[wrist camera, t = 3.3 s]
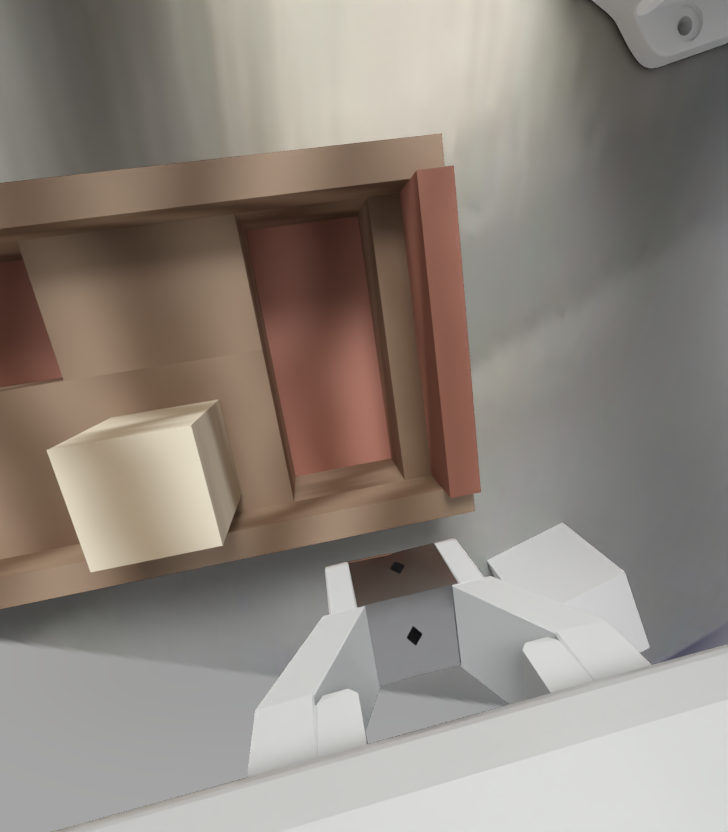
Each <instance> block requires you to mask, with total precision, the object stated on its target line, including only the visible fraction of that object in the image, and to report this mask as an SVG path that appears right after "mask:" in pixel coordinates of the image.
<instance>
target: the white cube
mask: <svg viewBox="0 0 728 832" xmlns="http://www.w3.org/2000/svg"><path fill="white" fill-rule="evenodd" d="M487 561H488V564H489V566H490V568H491V571H492V573H493V575H494V577H495V578H497V579H500V580H502V581H505V582H508V583H510V584H513V585H515V586H518V587H521V588H523V589H526V590H528V591H531V592H533V593H536V594H539V595H541V596H544V597H546V598H549V599H552V600H554V601H557V602H559V603H562V604H565V605H567V606H570V607H572V608H575V609H577V610H580V611H583V612H585V613H588V614H590V615H593V616H596V617H598V618H601V619H603V620H606V621H607V622H608V623H609V624H610V625H611V626H612V627H613V628H614V629H615V630H616V631H617V632H618V633H619V634H620V635H621V636H622V637H623V638H624V639H625V640H626V641H627V642H629V643H630V644H631V645H632V646H633V647H634V648H635V649H636V650H637V651H638V652H639V653H640V652H642V651H644V650H646V649H648V648H650V646H649V643H648V640H647V637H646V634H645V631H644V628H643V625H642V622H641V619H640V616H639V613H638V610H637V607H636V604H635V601H634V598H633V595H632V592H631V589H630V586H629V583H628V580H627V577H626V574H625V572H624V571H623V570H622V569H621V568H619V567H618V566H617V565H615V564H614V563H613V562H612V561H610V560H609V559H608V558H607V557H605V556H604V555H603V554H602V553H600V552H599V551H598V550H597V549H595V548H594V547H593V546H592V545H590V544H589V543H588V542H587V541H585V540H584V539H583V538H582V537H580V536H579V535H578V534H576V533H575V532H574V531H573V530H571V529H570V528H569V527H568V526H566V525H565V524H564V523H563V522H562V523H560V524H558V525H556V526H554V527H552V528H550V529H548V530H546V531H544V532H542V533H540V534H538V535H536V536H534V537H532V538H530V539H528V540H526V541H524V542H522V543H520V544H518V545H516V546H514V547H512V548H510V549H508V550H507V551H505V552H503V553H501V554H499V555H497V556H495V557H493V558H491V559H489V560H487Z"/></svg>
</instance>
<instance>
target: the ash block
mask: <svg viewBox="0 0 728 832" xmlns="http://www.w3.org/2000/svg"><path fill="white" fill-rule="evenodd" d="M47 453H48V456H49V459H50V461H51V464H52V467H53V470H54V472H55V475H56V478H57V481H58V484H59V486H60V489H61V492H62V495H63V497H64V500H65V503H66V506H67V509H68V511H69V514H70V517H71V520H72V522H73V525H74V528H75V531H76V533H77V536H78V539H79V542H80V545H81V547H82V550H83V553H84V556H85V558H86V561H87V564H88V567H89V570H90V572H95V571H100V570H105V569H110V568H115V567H120V566H125V565H130V564H135V563H140V562H145V561H150V560H155V559H159V558H164V557H169V556H174V555H179V554H184V553H189V552H194V551H199V550H204V549H209V548H214V547H219V546H223V543H224V541H225V538H226V535H227V533H228V530H229V527H230V524H231V522H232V519H233V516H234V513H235V511H236V508H237V505H238V503H239V500H240V497H241V494H242V493H241V489H240V484H239V480H238V476H237V472H236V468H235V464H234V460H233V455H232V451H231V447H230V443H229V439H228V435H227V431H226V426H225V422H224V418H223V414H222V410H221V406H220V402H219V399H218V400H212V401H206V402H200V403H194V404H188V405H182V406H176V407H170V408H165V409H159V410H153V411H147V412H141V413H135V414H129V415H123V416H117V417H111V418H109V419H107V420H105V421H103V422H101V423H99V424H97V425H95V426H93V427H91V428H89V429H88V430H86V431H84V432H82V433H80V434H78V435H76V436H74V437H72V438H70V439H68V440H66V441H64V442H62V443H60V444H58V445H56V446H54V447H52V448H50V449H48V450H47Z"/></svg>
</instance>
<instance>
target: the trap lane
mask: <svg viewBox="0 0 728 832" xmlns="http://www.w3.org/2000/svg"><path fill="white" fill-rule="evenodd" d="M218 399H219V402H220V406H221V410H222V414H223V418H224V422H225V426H226V431H227V435H228V439H229V443H230V447H231V451H232V455H233V460H234V464H235V468H236V472H237V476H238V480H239V484H240V489H241V493H242V494H241V497H240V500H239V503H238V505H237V508H236V511H235V513H234V516H233V519H232V522H231V524H230V527H229V530H228V533H227V535H226V538H225V541H224V543H223V546H219V547H214V548H209V549H204V550H199V551H194V552H189V553H184V554H179V555H174V556H169V557H164V558H159V559H155V560H150V561H145V562H140V563H135V564H130V565H125V566H120V567H115V568H110V569H105V570H100V571H95V572H90V570H89V567H88V564H87V561H86V558H85V556H84V553H83V550H82V547H81V545H80V542H79V539H78V536H77V533H76V531H75V528H74V525H73V522H72V520H71V517H70V514H69V511H68V509H67V506H66V503H65V500H64V497H63V495H62V492H61V489H60V486H59V484H58V481H57V478H56V475H55V472H54V470H53V467H52V464H51V461H50V459H49V456H48V453H47V450H48V449H50V448H52V447H54V446H56V445H58V444H60V443H62V442H64V441H66V440H68V439H70V438H72V437H74V436H76V435H78V434H80V433H82V432H84V431H86V430H88V429H89V428H91V427H93V426H95V425H97V424H99V423H101V422H103V421H105V420H107V419H109V418H111V417H117V416H123V415H129V414H135V413H141V412H147V411H153V410H159V409H165V408H170V407H176V406H182V405H188V404H194V403H200V402H206V401H212V400H218ZM479 492H481V489H480V477H479V465H478V453H477V441H476V429H475V417H474V404H473V392H472V380H471V368H470V356H469V344H468V332H467V320H466V308H465V296H464V284H463V272H462V260H461V248H460V236H459V224H458V212H457V200H456V187H455V175H454V166H447V167H445V165H444V154H443V142H442V134H433V135H424V136H415V137H406V138H397V139H388V140H380V141H371V142H362V143H353V144H344V145H335V146H326V147H317V148H308V149H299V150H290V151H281V152H272V153H263V154H255V155H246V156H237V157H228V158H219V159H210V160H201V161H192V162H183V163H174V164H165V165H156V166H147V167H139V168H130V169H121V170H112V171H103V172H94V173H85V174H76V175H67V176H58V177H49V178H40V179H31V180H23V181H14V182H5V183H0V609H3V608H8V607H13V606H18V605H23V604H28V603H32V602H37V601H42V600H47V599H52V598H57V597H61V596H66V595H71V594H76V593H81V592H86V591H90V590H95V589H100V588H105V587H110V586H115V585H119V584H124V583H129V582H134V581H139V580H144V579H148V578H153V577H158V576H163V575H168V574H173V573H177V572H182V571H187V570H192V569H197V568H202V567H206V566H211V565H216V564H221V563H226V562H231V561H235V560H240V559H245V558H250V557H255V556H260V555H264V554H269V553H274V552H279V551H284V550H289V549H293V548H298V547H303V546H308V545H313V544H318V543H322V542H327V541H332V540H337V539H342V538H347V537H351V536H356V535H361V534H366V533H371V532H376V531H381V530H385V529H390V528H395V527H400V526H405V525H410V524H414V523H419V522H424V521H429V520H434V519H439V518H443V517H448V516H453V515H458V514H463V513H468V512H472V511H475V506H474V495H473V494H474V493H479Z"/></svg>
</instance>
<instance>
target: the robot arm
mask: <svg viewBox="0 0 728 832" xmlns="http://www.w3.org/2000/svg"><path fill="white" fill-rule="evenodd" d="M592 1H593V2H595V3H596V4H597V5H598V6H600V7H601V8H602V9H603V10H605V11H606V12H607V13H608V14H609V15H610V16H611V17H612V18H613V20H614V21H615V22H616V24H617V26H618V28H619V30H620V32H621V34H622V36H623V38H624V40H625V42H626V44H627V45H628V47H629V49H630V51H631V52H632V54H633V55H634V57H635V58H636V60H637V61H638V62H639V63H640V64H641V65H643V66H645V67H647V68H658V67H661V66H664V65H667V64H669V63H672V62H675V61H678V60H681V59H684V58H687V57H689V56H692V55H695V54H698V53H701V52H704V51H707V50H709V49H712V48H715V47H718V46H721V45H724V44H726V43H728V0H592ZM678 28H679V30H680V33H679V32H678ZM348 564H349V566H348ZM349 570H350V571H349ZM325 576H326V586H327V596H328V606H329V615H325V616H323V617H322V618H321V619H320V621H319V622H318V623H317V625H316V626H315V628H314V629H313V630H312V632H311V633H310V635H309V636H308V637H307V639H306V640H305V642H304V643H303V644H302V646H301V647H300V649H299V650H298V651H297V653H296V654H295V656H294V657H293V658H292V660H291V661H290V663H289V664H288V665H287V667H286V668H285V670H284V671H283V672H282V674H281V675H280V676H279V678H278V679H277V681H276V682H275V684H274V685H273V686H272V688H271V689H270V691H269V692H268V693H267V695H266V696H265V697H264V699H263V700H262V702H261V703H260V704H259V706H258V707H257V709H256V710H255V716H254V724H253V732H252V740H251V748H250V756H249V765H248V773H247V778H243V779H240V780H237V781H232V782H229V783H225V784H222V785H218V786H214V787H211V788H208V789H204V790H200V791H197V792H193V793H189V794H186V795H182V796H178V797H175V798H171V799H168V800H164V801H160V802H157V803H153V804H149V805H146V806H143V807H139V808H135V809H132V810H128V811H124V812H121V813H117V814H113V815H110V816H107V817H103V818H99V819H95V820H92V821H89V822H85V823H81V824H77V825H74V826H70V827H66V828H63V829H59V830H56V831H52V832H728V644H726V645H722V646H719V647H715V648H712V649H708V650H705V651H701V652H697V653H694V654H690V655H686V656H683V657H679V658H675V659H672V660H668V661H665V662H661V663H657V664H654V665H651V664H650V663H649V662H648V661H647V660H646V659H645V658H644V657H643V656H642V655H641V654H640V653H639V652H638V651H637V650H636V649H635V648H634V647H633V646H632V645H631V644H630V643H629V642H627V641H626V640H625V639H624V638H623V637H622V636H621V635H620V634H619V633H618V632H617V631H616V630H615V629H614V628H613V627H612V626H611V625H610V624H609V623H608V622H607V621H606V620H603V619H601V618H598V617H596V616H593V615H590V614H588V613H585V612H583V611H580V610H577V609H575V608H572V607H570V606H567V605H565V604H562V603H559V602H557V601H554V600H552V599H549V598H546V597H544V596H541V595H539V594H536V593H533V592H531V591H528V590H526V589H523V588H521V587H518V586H515V585H513V584H510V583H508V582H505V581H502V580H500V579H497V578H495V577H492V576H489V577H484V576H483V575H482V573H481V572H480V571H479V569H478V568H477V567H476V565H475V564H474V563H473V561H472V560H471V559H470V557H469V556H468V555H467V553H466V552H465V551H464V549H463V548H462V547H461V545H460V544H459V543H458V541H457V540H456V539H454V538H450V539H446V540H442V541H439V542H435V543H432V544H428V545H424V546H420V547H416V548H412V549H408V550H404V551H400V552H396V553H392V554H391V553H389V554H384V555H379V556H374V557H369V558H364V559H359V560H354V561H349V562H348V563H347V562H344V563H339V564H335V565H331V566H327V567H325ZM459 665H461V667H462V668H463V669H465V670H466V671H467V672H468V673H470V674H471V675H472V676H474V677H475V678H476V679H477V680H479V681H480V682H481V683H483V684H484V685H485V686H487V687H488V688H489V689H490V690H492V691H493V692H494V693H496V694H497V695H498V696H499V697H501V698H502V699H503V700H505V701H506V702H507V703H508V704H509V705H506V706H502V707H499V708H495V709H492V710H488V711H484V712H481V713H477V714H474V715H470V716H467V717H463V718H459V719H456V720H453V721H449V722H445V723H442V724H438V725H435V726H431V727H427V728H424V729H420V730H417V731H413V732H409V733H406V734H402V735H398V736H395V737H391V738H388V739H384V740H380V741H377V742H373V743H370V744H368V743H367V737H366V732H365V731H366V728H367V725H368V722H369V719H370V716H371V713H372V710H373V708H374V704H375V701H376V698H377V696H378V693H379V690H380V688H379V686H383V685H386V684H389V683H393V682H396V681H400V680H403V679H406V678H410V677H413V676H416V675H420V674H424V673H429V672H433V671H437V670H442V669H446V668H450V667H455V666H459Z"/></svg>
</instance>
